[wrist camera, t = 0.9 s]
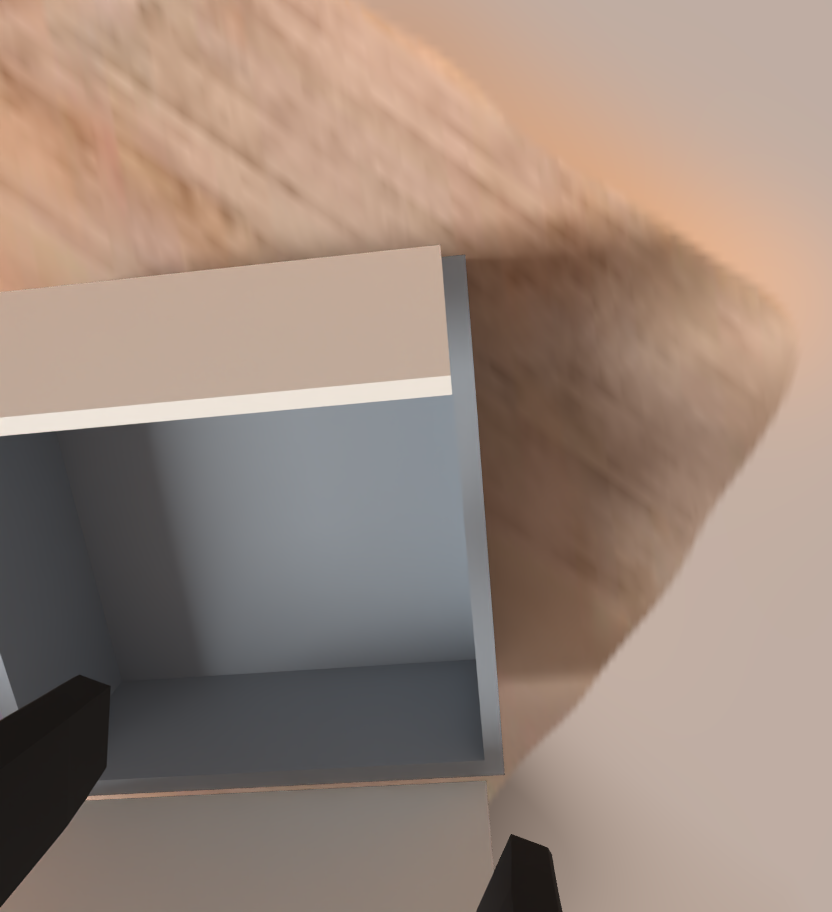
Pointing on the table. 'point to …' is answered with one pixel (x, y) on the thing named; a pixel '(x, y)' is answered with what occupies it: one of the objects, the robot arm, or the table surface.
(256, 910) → the back flap
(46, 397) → the front flap
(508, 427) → the table surface
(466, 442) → the carton
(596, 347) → the table surface
